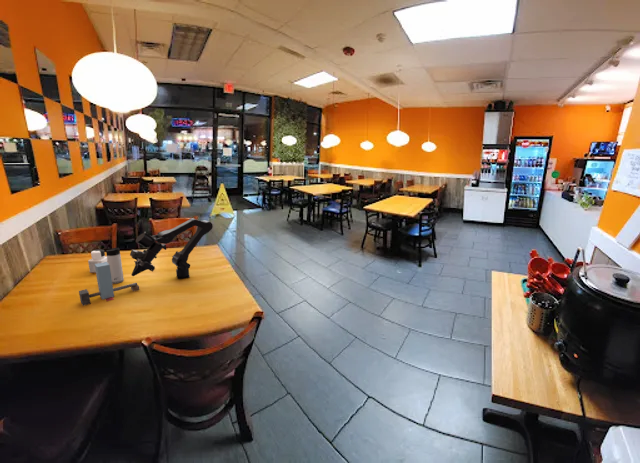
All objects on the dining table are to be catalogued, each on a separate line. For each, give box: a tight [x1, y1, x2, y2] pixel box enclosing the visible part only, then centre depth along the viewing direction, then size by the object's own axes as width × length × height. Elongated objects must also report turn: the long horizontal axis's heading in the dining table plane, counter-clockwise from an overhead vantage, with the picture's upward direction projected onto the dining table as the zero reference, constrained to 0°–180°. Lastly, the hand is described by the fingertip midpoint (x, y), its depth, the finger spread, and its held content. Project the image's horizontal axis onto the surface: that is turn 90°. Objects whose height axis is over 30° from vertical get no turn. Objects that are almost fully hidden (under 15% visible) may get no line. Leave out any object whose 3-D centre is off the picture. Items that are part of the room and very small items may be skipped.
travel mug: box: [105, 247, 125, 285], centre depth 162 cm, size 6×7×20 cm
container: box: [87, 248, 108, 273], centre depth 177 cm, size 8×8×13 cm
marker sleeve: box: [95, 262, 115, 300], centre depth 145 cm, size 5×5×18 cm
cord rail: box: [78, 282, 140, 307], centre depth 148 cm, size 24×10×6 cm, turn 138°
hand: (132, 275), depth 154 cm, fingers closed
